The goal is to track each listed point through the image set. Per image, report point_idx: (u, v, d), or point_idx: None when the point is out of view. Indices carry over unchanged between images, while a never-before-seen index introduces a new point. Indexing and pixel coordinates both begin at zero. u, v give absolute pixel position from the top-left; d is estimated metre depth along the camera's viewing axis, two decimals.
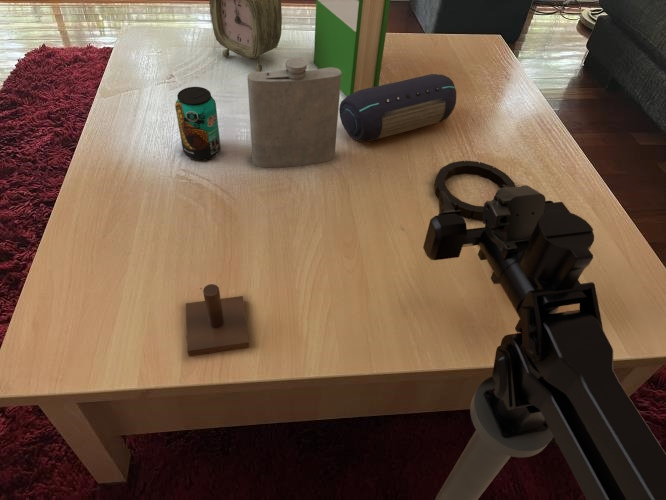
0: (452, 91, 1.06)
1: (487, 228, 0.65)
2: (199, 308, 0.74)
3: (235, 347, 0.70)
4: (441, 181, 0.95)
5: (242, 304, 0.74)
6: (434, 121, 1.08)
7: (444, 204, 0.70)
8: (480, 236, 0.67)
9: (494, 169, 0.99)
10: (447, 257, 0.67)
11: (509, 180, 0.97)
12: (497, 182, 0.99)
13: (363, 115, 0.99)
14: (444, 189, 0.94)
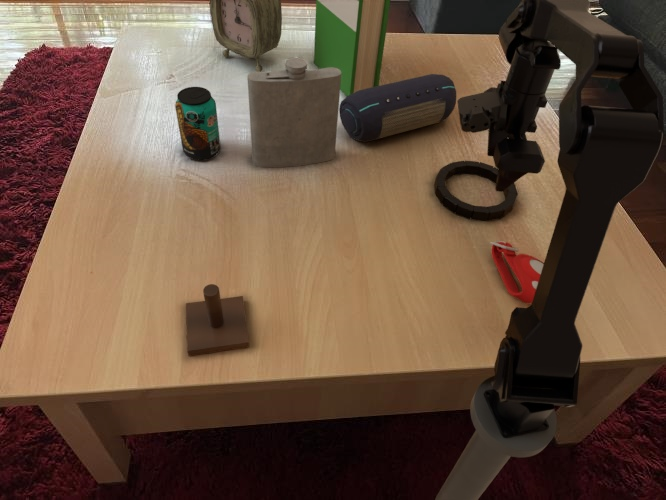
0: (452, 91, 1.06)
1: (499, 127, 0.76)
2: (199, 308, 0.74)
3: (235, 347, 0.70)
4: (441, 181, 0.95)
5: (242, 304, 0.74)
6: (434, 121, 1.08)
7: (499, 176, 0.79)
8: (512, 133, 0.76)
9: (494, 169, 0.99)
10: (536, 147, 0.73)
11: None
12: None
13: (363, 115, 0.99)
14: (444, 189, 0.94)
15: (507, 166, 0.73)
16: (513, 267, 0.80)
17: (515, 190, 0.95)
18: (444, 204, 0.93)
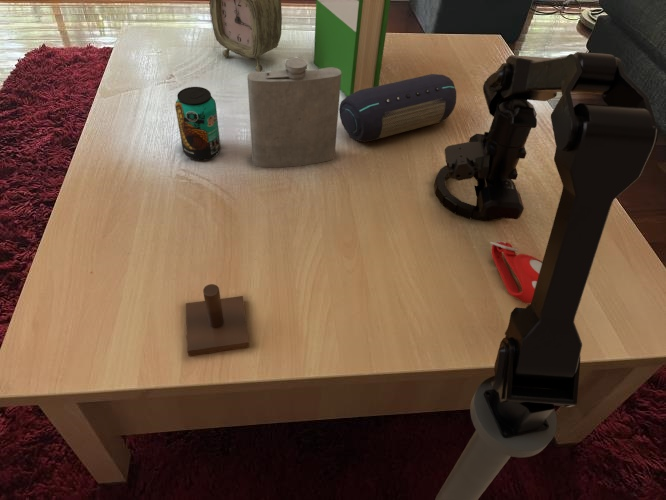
0: (452, 91, 1.06)
1: (482, 175, 0.82)
2: (199, 308, 0.74)
3: (235, 347, 0.70)
4: (441, 181, 0.95)
5: (242, 304, 0.74)
6: (434, 121, 1.08)
7: None
8: (494, 180, 0.83)
9: None
10: (516, 195, 0.79)
11: (509, 180, 0.97)
12: None
13: (363, 115, 0.99)
14: (444, 189, 0.94)
15: (489, 213, 0.79)
16: (513, 267, 0.80)
17: None
18: (444, 204, 0.93)
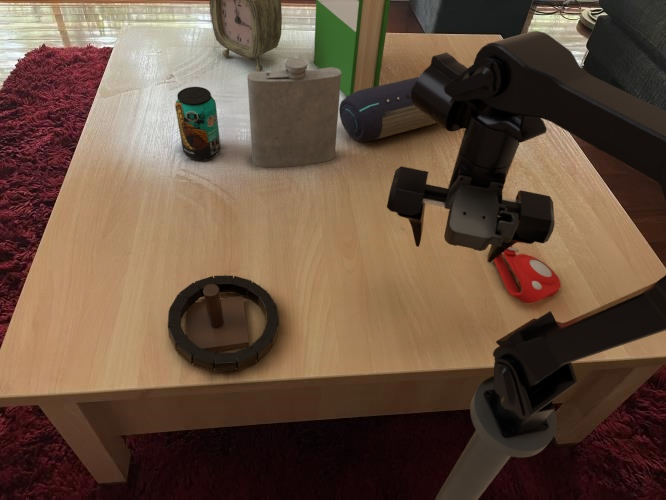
0: None
1: None
2: (199, 308, 0.74)
3: (235, 347, 0.70)
4: (204, 354, 0.66)
5: (242, 304, 0.74)
6: (434, 121, 1.08)
7: (505, 249, 0.64)
8: None
9: (200, 284, 0.74)
10: (535, 194, 0.61)
11: (226, 278, 0.76)
12: None
13: (363, 115, 0.99)
14: (222, 357, 0.67)
15: None
16: (513, 267, 0.80)
17: (245, 280, 0.76)
18: (239, 367, 0.68)
